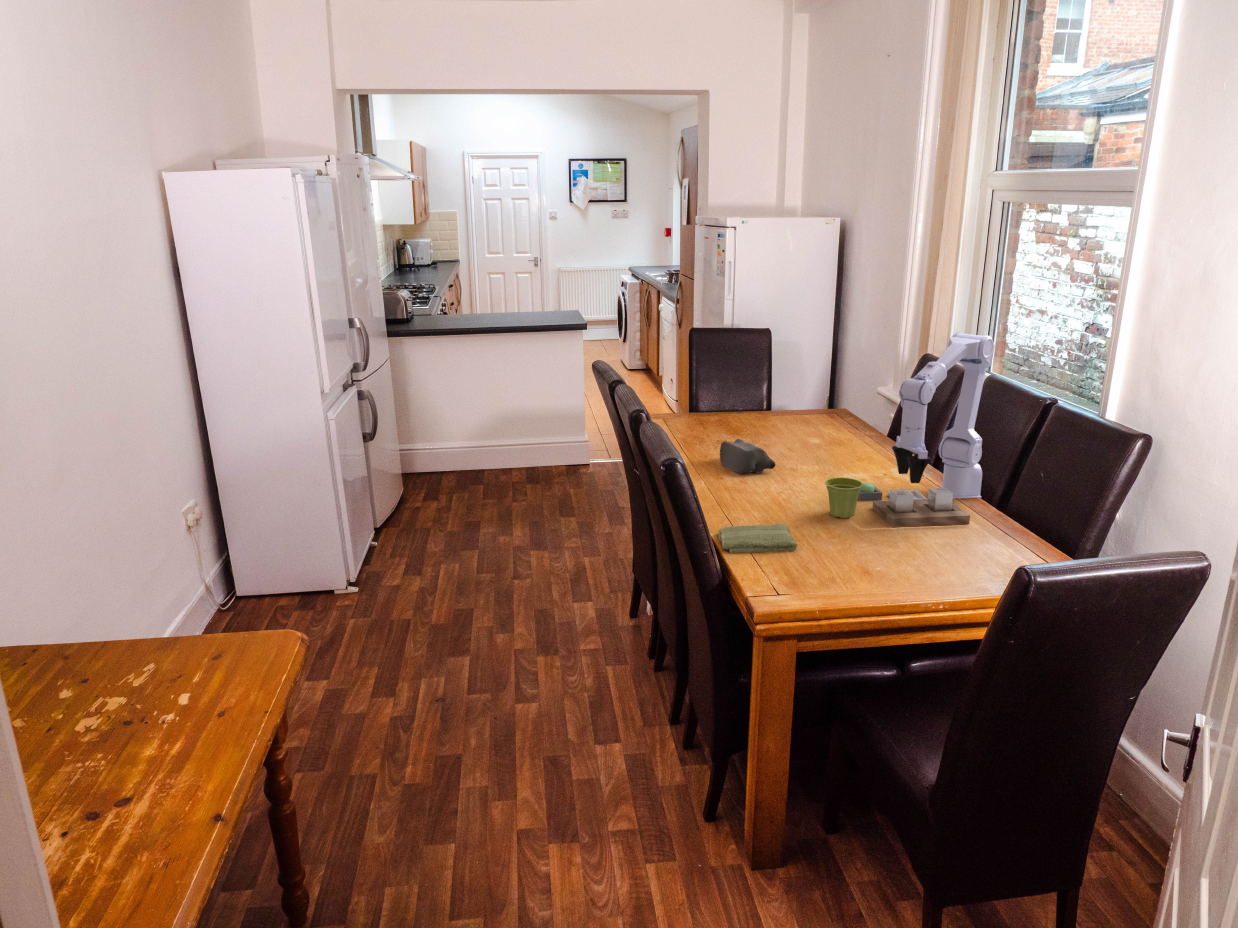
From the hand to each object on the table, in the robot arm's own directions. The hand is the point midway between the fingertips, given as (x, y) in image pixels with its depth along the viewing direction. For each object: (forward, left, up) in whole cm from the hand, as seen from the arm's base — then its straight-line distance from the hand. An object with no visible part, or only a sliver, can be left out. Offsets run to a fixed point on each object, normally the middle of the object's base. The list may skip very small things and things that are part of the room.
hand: (908, 478), depth 222 cm
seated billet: (-8, +3, -10) cm, 13 cm away
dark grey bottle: (+32, -45, -10) cm, 56 cm away
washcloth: (+43, +15, -10) cm, 47 cm away
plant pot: (+16, -1, -10) cm, 19 cm away
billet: (+3, +3, -10) cm, 10 cm away
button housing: (+5, -13, -10) cm, 17 cm away
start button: (+5, -13, -9) cm, 17 cm away
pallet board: (-3, +3, -10) cm, 10 cm away
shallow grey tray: (-5, -10, -10) cm, 15 cm away
